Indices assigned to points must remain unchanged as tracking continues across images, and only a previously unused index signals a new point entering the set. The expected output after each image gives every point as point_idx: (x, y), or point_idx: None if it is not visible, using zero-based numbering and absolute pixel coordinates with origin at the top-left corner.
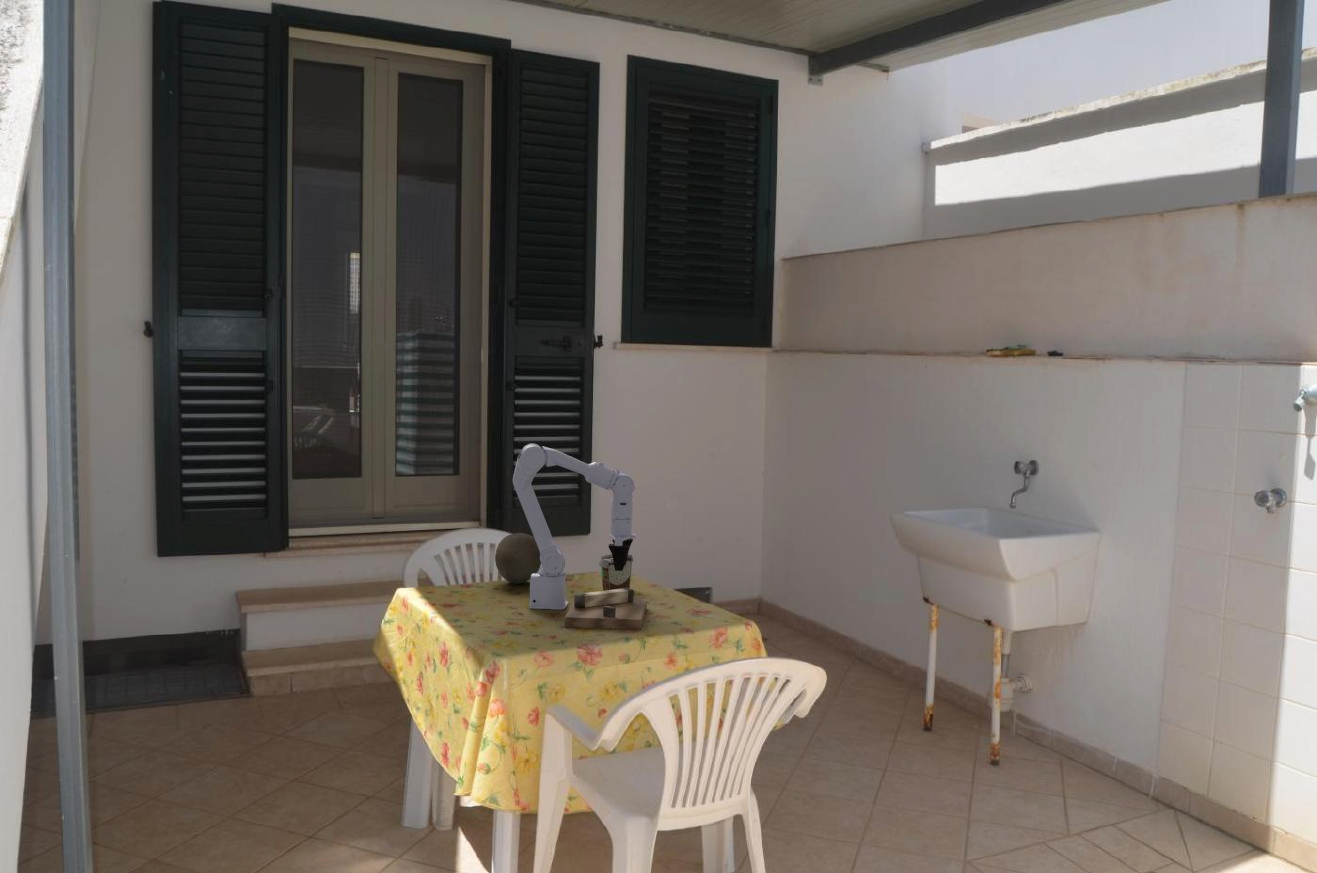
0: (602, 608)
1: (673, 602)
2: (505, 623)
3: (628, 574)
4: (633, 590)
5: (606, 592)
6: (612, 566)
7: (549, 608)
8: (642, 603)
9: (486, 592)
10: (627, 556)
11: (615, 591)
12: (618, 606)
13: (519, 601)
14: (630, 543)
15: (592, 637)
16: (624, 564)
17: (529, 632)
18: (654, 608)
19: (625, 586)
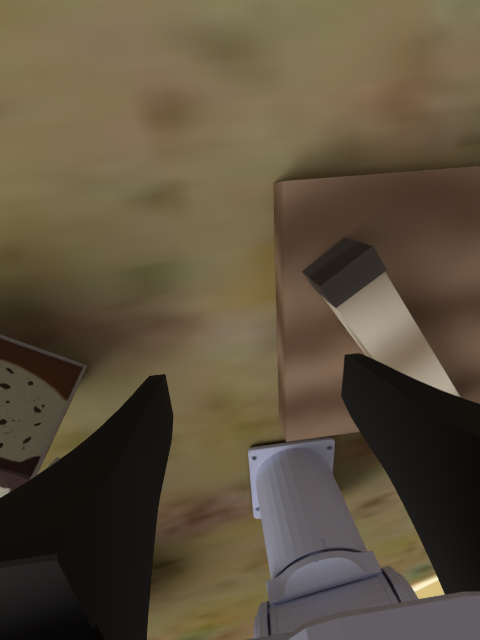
0: (447, 332)
1: (115, 47)
2: None
3: None
4: (371, 246)
5: (417, 355)
6: (2, 446)
7: (332, 468)
8: (368, 189)
9: (178, 607)
10: (139, 406)
11: (398, 325)
12: (420, 283)
13: (249, 538)
14: (95, 510)
15: None
16: (164, 383)
17: None
18: (264, 144)
19: None
